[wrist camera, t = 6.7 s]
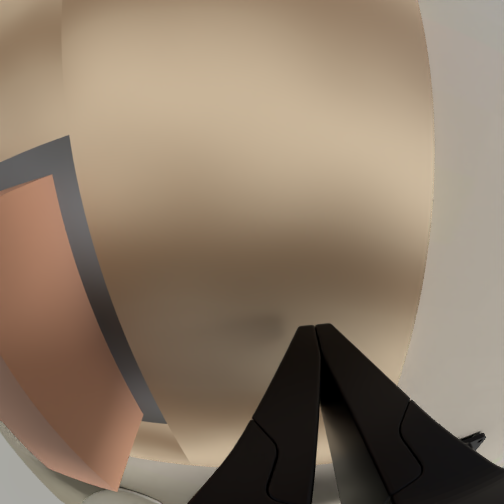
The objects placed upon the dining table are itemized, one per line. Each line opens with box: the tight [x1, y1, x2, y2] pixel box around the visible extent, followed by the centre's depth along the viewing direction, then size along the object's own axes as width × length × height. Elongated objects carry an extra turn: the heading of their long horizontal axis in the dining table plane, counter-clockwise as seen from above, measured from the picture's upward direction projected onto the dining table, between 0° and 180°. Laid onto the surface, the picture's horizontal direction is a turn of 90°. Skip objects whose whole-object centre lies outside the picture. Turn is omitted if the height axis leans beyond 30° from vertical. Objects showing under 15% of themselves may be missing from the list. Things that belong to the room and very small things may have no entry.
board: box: [0, 0, 435, 467], centre depth 9 cm, size 22×20×1 cm
